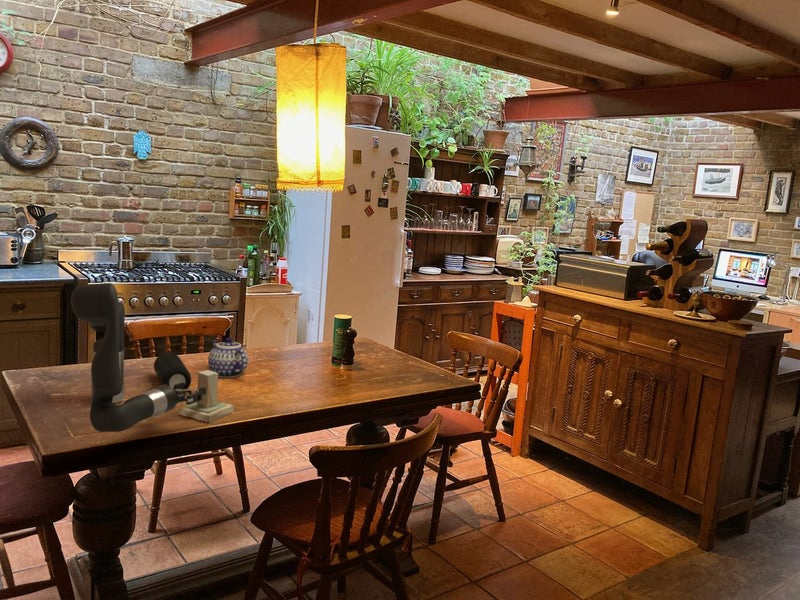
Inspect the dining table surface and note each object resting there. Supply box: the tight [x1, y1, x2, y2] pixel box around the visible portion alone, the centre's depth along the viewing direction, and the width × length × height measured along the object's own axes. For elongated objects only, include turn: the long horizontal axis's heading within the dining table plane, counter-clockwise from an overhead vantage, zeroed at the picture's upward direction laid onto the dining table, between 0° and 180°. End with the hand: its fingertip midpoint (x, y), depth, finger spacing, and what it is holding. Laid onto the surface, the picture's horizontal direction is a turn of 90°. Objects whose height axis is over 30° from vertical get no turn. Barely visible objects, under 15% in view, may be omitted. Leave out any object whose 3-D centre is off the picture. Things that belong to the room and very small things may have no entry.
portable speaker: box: [153, 351, 192, 390], centre depth 234 cm, size 26×10×10 cm, turn 28°
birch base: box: [178, 400, 235, 424], centre depth 209 cm, size 12×12×3 cm
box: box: [196, 369, 219, 408], centre depth 207 cm, size 5×4×11 cm
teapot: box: [207, 337, 249, 379], centre depth 252 cm, size 25×15×15 cm, turn 40°
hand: (194, 387), depth 201 cm, fingers open, 8 cm apart
